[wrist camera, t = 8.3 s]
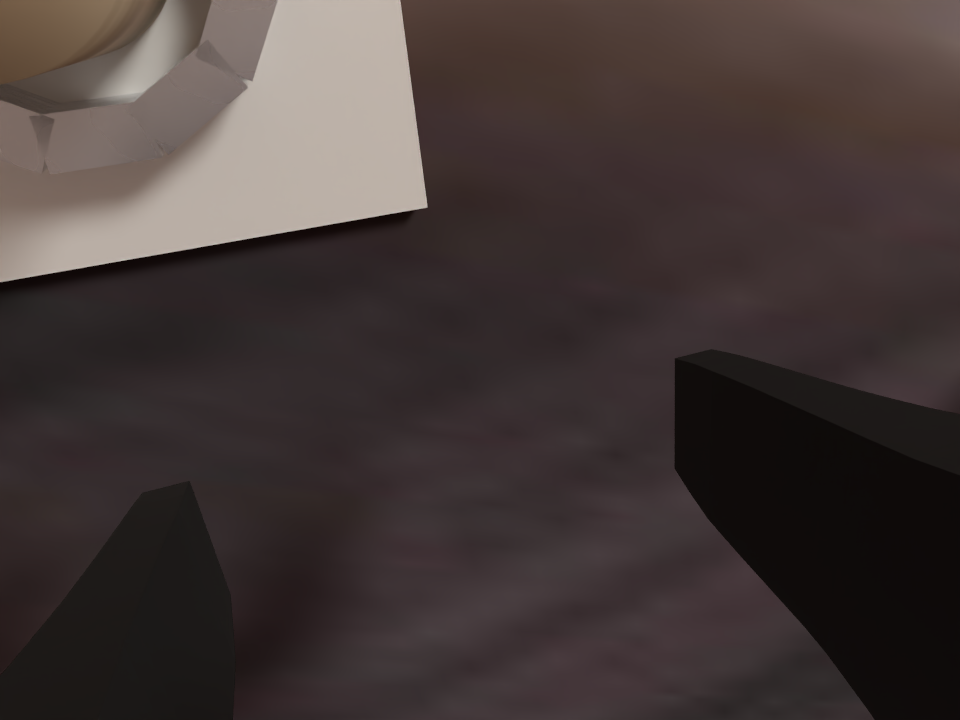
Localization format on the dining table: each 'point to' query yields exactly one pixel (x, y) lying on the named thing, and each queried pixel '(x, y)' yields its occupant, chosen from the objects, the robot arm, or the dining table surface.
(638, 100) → the dining table surface
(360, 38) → the peg holder
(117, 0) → the maple peg
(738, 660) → the dining table surface
